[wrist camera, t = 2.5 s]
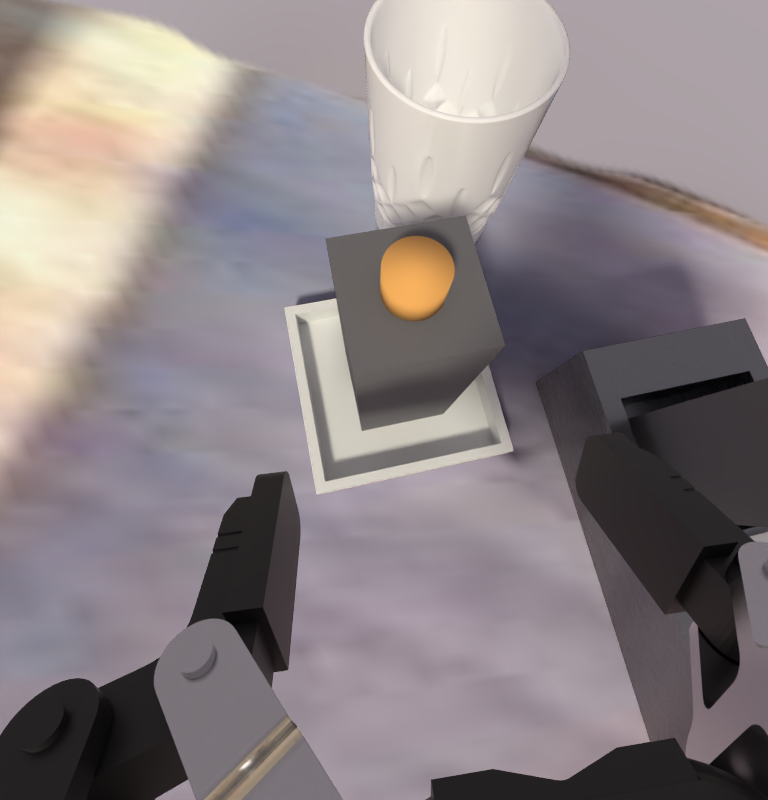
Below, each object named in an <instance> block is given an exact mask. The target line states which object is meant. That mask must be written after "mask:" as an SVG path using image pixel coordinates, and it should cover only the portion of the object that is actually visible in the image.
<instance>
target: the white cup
mask: <svg viewBox="0 0 768 800" xmlns="http://www.w3.org/2000/svg"><path fill="white" fill-rule="evenodd" d="M364 50H365V67H366V84H367V85H366V86H367V105H368V125H369V145H370V157H371V170H372V182H373V189H374V194H375V218H376V223H377V226H378V228H379V230H381V229H387V228H393V227H399V226H405V225H411V224H417V223H423V222H429V221H435V220H441V219H447V218H453V217H459V216H465V215H466V218H467V221H468V225H469V228H470V231H471V235H472V238H473V241H474V244H475V243H476V241H477V240H478V238H479V237H480V235H481V234H482V232H483V230H484V228H485V226H486V224H487V222H488V220H489V218H490V217H491V216H492V215H493V213H494V212H495V210H496V208H497V206H498V204H499V202H500V200H501V198H502V197H503V196H504V194H505V192H506V190H507V188H508V186H509V185H510V183H511V181H512V179H513V177H514V175H515V173H516V171H517V169H518V167H519V165H520V163H521V161H522V159H523V157H524V155H525V153H526V151H527V149H528V147H529V146H530V144H531V142H532V140H533V138H534V136H535V134H536V132H537V130H538V128H539V126H540V124H541V122H542V120H543V118H544V116H545V114H546V112H547V110H548V108H549V106H550V104H551V103H552V101H553V99H554V97H555V95H556V93H557V91H558V89H559V87H560V85H561V83H562V81H563V79H564V77H565V75H566V72H567V69H568V65H569V59H570V45H569V39H568V35H567V32H566V29H565V27H564V25H563V22H562V20H561V19H560V17H559V15H558V14H557V12H556V11H555V10H554V8H553V7H552V6H551V5H550V4H549V3H548V2H547V1H546V0H376V2H375V3H374V4H373V6H372V8H371V10H370V12H369V14H368V17H367V20H366V23H365V28H364Z"/></svg>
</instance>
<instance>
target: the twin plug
mask: <svg viewBox="0 0 768 800" xmlns="http://www.w3.org/2000/svg"><path fill="white" fill-rule="evenodd" d="M628 420H629V423H630V426H631V429H632V431H633V434H634V437H635V439H636V442H637V445H638V448H639V449H644V450H646V451H648V452H650V453H652V454H654V455H655V456H657V457H659V458H661V459H663V460H665V461H666V462H667V463H668V464H669V465H670V466H671V467H672V468H673V469H675V470H676V471H677V472H678V473H679V474H680V475H681V478H682V479H684V478H685V479H686V480H687V481H688V482H689V483H690V484H691V485H692V486H694V487H695V490H696V491H699V492H700V493H701V494H702V495H704V496H705V497H706V498H707V499H708V500H709V501H710V502H711V503H712V504H714V505H715V506H716V507H717V508H718V509H719V510H720V511H721V512H723V513H724V514H725V515H726V516H727V517H728V518H729V519H730V520H731V521H733V522H734V523H735V524H736V525H746V526H758V527H768V378H765V379H762V380H758V381H755V382H751V383H748V384H744V385H741V386H738V387H734V388H731V389H727V390H724V391H720V392H717V393H714V394H710V395H707V396H703V397H700V398H697V399H693V400H690V401H686V402H683V403H679V404H676V405H673V406H669V407H666V408H662V409H659V410H655V411H652V412H649V413H645V414H642V415H638V416H635V417H631V418H628Z"/></svg>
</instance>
